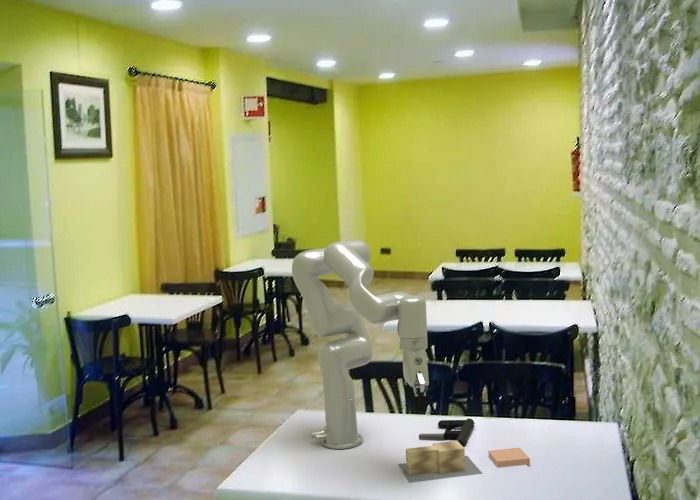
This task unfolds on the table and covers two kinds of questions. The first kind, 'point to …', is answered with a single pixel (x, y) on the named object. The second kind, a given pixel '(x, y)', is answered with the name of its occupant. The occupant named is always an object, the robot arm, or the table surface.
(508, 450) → the tan rectangular block
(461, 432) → the door handle
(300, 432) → the table surface
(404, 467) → the rest mat
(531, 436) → the table surface
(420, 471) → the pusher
